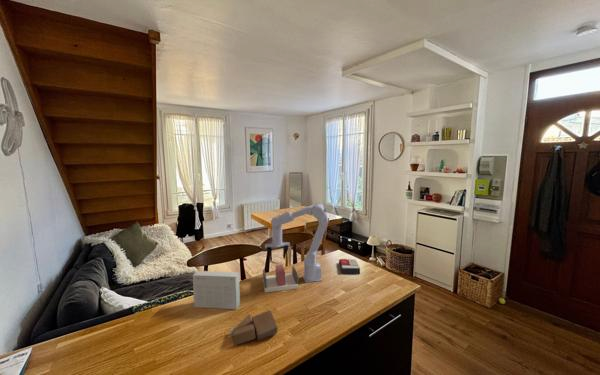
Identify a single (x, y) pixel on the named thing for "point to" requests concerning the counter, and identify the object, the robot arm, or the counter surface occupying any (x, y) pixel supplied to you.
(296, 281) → the grey open rack
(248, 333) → the wooden block
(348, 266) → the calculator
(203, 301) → the skincare box
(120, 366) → the counter surface
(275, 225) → the robot arm
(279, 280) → the burgundy book
